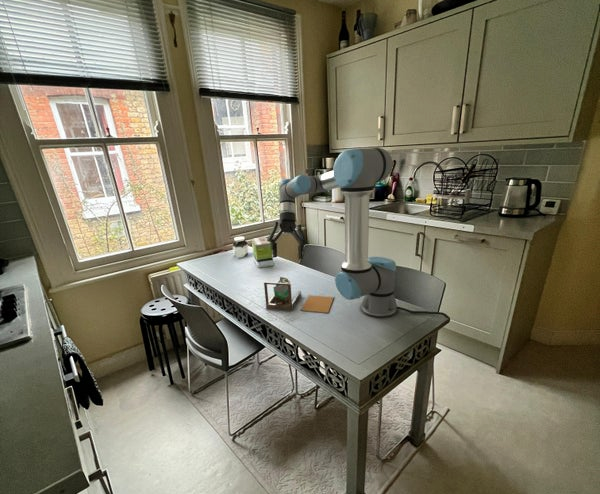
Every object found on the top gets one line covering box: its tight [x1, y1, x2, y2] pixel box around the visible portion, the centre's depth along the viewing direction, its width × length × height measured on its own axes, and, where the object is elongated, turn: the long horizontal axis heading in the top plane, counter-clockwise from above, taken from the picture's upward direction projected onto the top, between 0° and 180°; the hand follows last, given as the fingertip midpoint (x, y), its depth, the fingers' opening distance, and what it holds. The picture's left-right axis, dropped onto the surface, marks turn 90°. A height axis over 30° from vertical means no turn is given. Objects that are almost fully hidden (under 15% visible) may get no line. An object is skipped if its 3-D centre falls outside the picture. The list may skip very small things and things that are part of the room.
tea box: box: [251, 236, 274, 268], centre depth 197 cm, size 15×10×15 cm, turn 17°
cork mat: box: [300, 295, 334, 314], centre depth 144 cm, size 12×15×1 cm
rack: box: [263, 281, 302, 312], centre depth 145 cm, size 12×16×13 cm
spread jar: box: [232, 236, 250, 259], centre depth 214 cm, size 12×11×12 cm
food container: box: [273, 276, 291, 305], centre depth 147 cm, size 12×6×10 cm, turn 168°
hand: (287, 258), depth 148 cm, fingers open, 13 cm apart
